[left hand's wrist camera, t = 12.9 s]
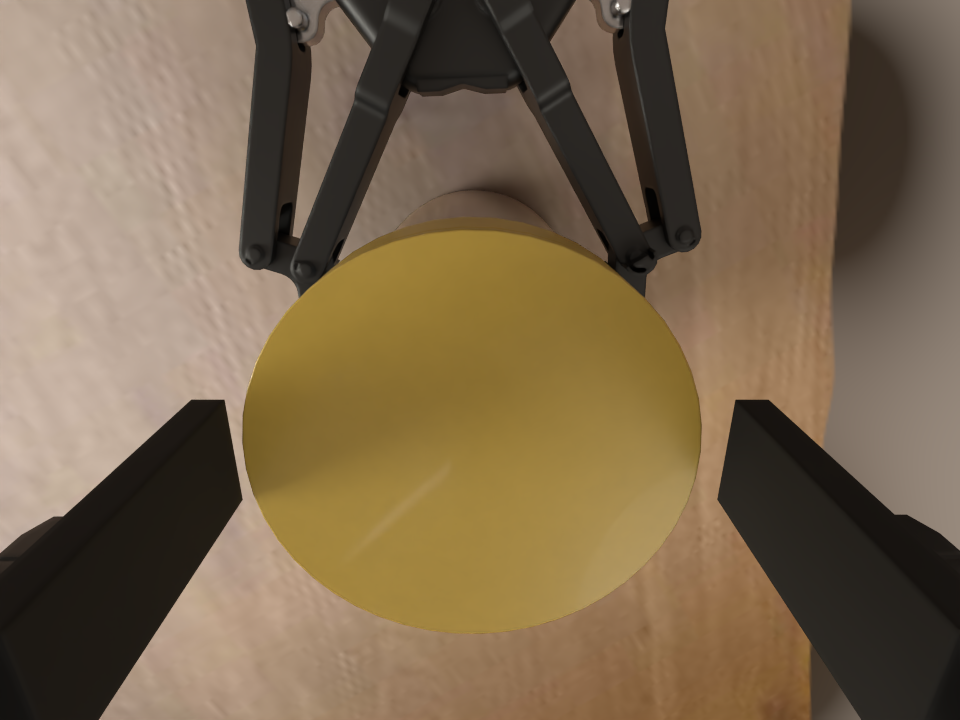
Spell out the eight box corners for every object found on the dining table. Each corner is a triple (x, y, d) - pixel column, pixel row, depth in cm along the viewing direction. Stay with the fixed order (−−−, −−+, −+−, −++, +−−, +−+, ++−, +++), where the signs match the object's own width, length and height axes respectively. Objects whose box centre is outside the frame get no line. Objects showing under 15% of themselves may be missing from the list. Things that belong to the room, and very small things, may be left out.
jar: (495, 405, 32) (514, 658, 16) (345, 309, 30) (201, 492, 14) (606, 265, 29) (758, 407, 13) (449, 147, 27) (413, 155, 11)
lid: (514, 630, 18) (518, 691, 16) (204, 461, 16) (164, 507, 14) (756, 375, 15) (800, 411, 13) (414, 119, 13) (402, 114, 11)
